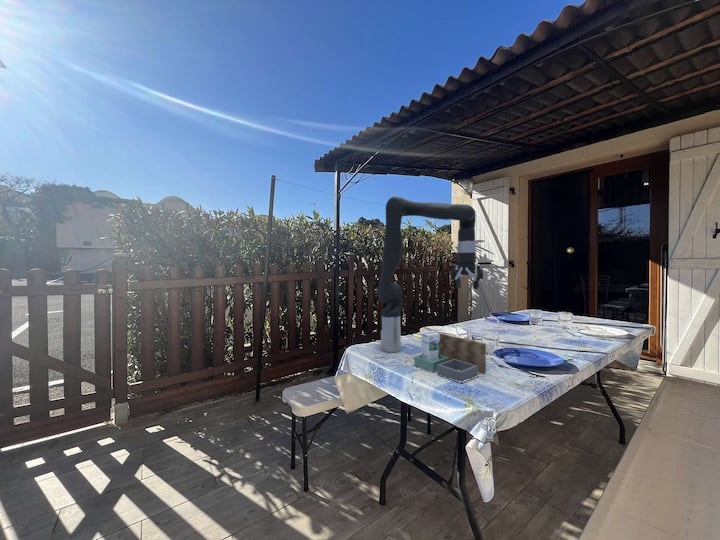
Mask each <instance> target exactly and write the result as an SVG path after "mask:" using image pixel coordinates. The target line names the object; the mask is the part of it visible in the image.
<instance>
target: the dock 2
mask: <svg viewBox="0 0 720 540" xmlns="http://www.w3.org/2000/svg"><path fill="white" fill-rule="evenodd" d="M455 369H456V370H455ZM458 370H460V371H458ZM437 374H438V375H437ZM436 375H437V376H439V375H441V376H440V377H442V376H445V377H448V378H451V379H454V380H457V381H461V382H462V381H464V380H467V379H470V378H472V377H475V376H477V375H478V376H479V373H478V366H477V365H474V364H470V363H467V362H464V361H460V360H457V359H452V360H449V361H446V362H443V363H441V364H438V365H437V371H436ZM478 376H477V377H478ZM445 377H444V378H445ZM475 378H476V377H475ZM472 379H473V378H472ZM470 380H471V379H470Z"/></svg>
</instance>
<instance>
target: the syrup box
mask: <svg viewBox="0 0 720 540" xmlns="http://www.w3.org/2000/svg"><path fill="white" fill-rule="evenodd" d="M439 333H440V332H438V333H437V331H434V330H431V331H421V333H420V335H421V336H420V337H421V338H420V340H421V355H422V358H423V359H426V360H429V361H432V362H433V361H436V360H439V359H440V334H439Z"/></svg>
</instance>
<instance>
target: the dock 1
mask: <svg viewBox="0 0 720 540" xmlns="http://www.w3.org/2000/svg"><path fill="white" fill-rule="evenodd" d="M413 359H414V367H416V366H417V368H419V367H421V368H420V369H422V368H424V369H426V370H425V371H427V370H429V371H428V372H430V371H432V372H431V373H435V371H436V372H437V365H438V364H441V363H443V362H446V361H448V357H445V356H442V355H440V359H439V360H436V361H433V362H432V361H429V360H426V359H423V358H422V354H420V355H418V354H417V355H416V356H414V358H413ZM424 369H423V370H424Z"/></svg>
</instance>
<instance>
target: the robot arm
mask: <svg viewBox="0 0 720 540" xmlns="http://www.w3.org/2000/svg"><path fill="white" fill-rule="evenodd" d="M476 214H477V213H476V211H475V208H473V206H472V205H469V204H465V203H464V204H462V203H461V204H458V203H456V204H454V203H453V204H452V203H441V202H420V201H419V202H417V201H412V200H409V199H405V198H404V197H400V196H392V197H390V198H389V199H388V200H387V201H386V204H385V232H384V240H383V241H384V242H383V250H382V262H381V263H382V264H381V271H380V272H381V273H380V278H379V282H378V283H379V284H378V287H377V297H378V301H380V303H382V304H387V306H386V307H385V308H384V309H382V310H381V330H380V348H381V350H382V351H383V352H385V353H397V352H401V350H402V343H401V342H402V341H401V339H402V338H401V337H402V336H401V313H402V308H403V307H402V306H403V305H402V304H403V292H402V291H403V290H402V288H401V286H400V285H399V284H398V283H392V279H393V276H394V273H395V272H396V270H397V268H398V266H400V263H401V261H402V258H403V257H402V256H403V249H404V248H403V247H404V245H403V244H404V243H403V242H404V241H403V236H402V231H401V230H402V229H401V225H402V219H403V217H411V216H414V217H423V218H429V219H434V220H435V219H436V220H445V221H448V220H454V221H458V222H459V223H458V224H459V225H458V226H459V228H458V231H457V263H458V264H452V265H451V275H450V276H451V279H454V280H455V288H456V289H461V288H462V287H461V285H462V283H461V281H462V280H461V279H462V277H463V276H470V277H471V279H472V280H473V282H472V284H473V285H472V287H473V291H476V290H479V287H480V286H479V285H480V284H479V281H480V280H484V269H483V265H482V264H481V265H480V264H478V265H476V261H477V258H476V257H477V249H476V248H477V246H476V230H475V228H476V217H477V215H476Z"/></svg>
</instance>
